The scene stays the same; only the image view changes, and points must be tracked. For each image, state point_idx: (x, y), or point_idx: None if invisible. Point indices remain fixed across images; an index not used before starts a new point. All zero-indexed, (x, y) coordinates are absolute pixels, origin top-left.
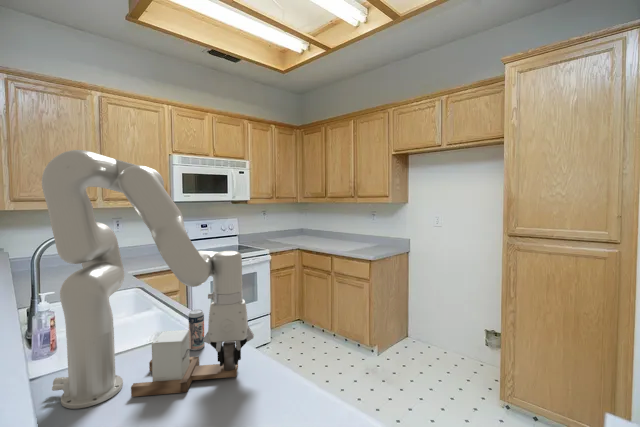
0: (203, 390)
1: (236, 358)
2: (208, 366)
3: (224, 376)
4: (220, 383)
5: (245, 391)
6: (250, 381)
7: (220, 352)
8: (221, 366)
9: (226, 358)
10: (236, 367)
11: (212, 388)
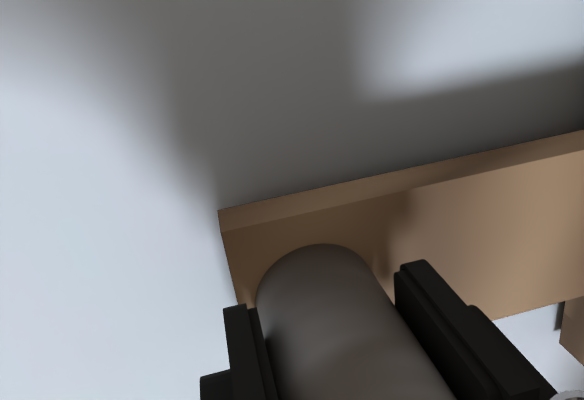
0: (474, 18)
1: (240, 364)
2: (514, 291)
3: (332, 190)
4: (347, 135)
5: (29, 2)
6: (56, 187)
7: (523, 386)
8: None
9: (383, 336)
10: None
11: (401, 53)
